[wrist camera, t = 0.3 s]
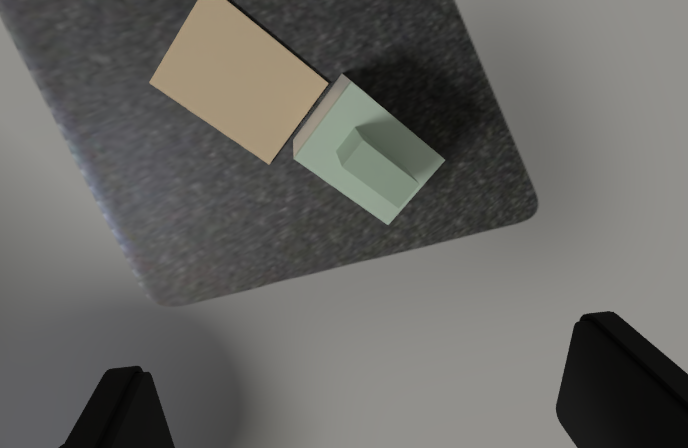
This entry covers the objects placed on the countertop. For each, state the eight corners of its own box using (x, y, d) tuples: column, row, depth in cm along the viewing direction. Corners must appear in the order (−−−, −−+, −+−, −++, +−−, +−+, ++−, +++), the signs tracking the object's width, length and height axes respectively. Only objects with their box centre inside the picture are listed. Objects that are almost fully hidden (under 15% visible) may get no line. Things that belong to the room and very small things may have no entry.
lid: (293, 153, 37) (294, 175, 31) (348, 79, 35) (360, 88, 29) (384, 217, 41) (399, 247, 35) (438, 154, 39) (464, 176, 33)
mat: (150, 82, 38) (149, 82, 37) (207, -16, 35) (207, -16, 35) (269, 163, 42) (269, 164, 42) (328, 83, 40) (328, 83, 39)
